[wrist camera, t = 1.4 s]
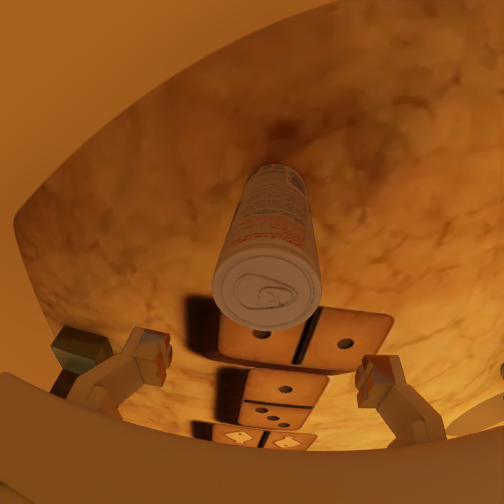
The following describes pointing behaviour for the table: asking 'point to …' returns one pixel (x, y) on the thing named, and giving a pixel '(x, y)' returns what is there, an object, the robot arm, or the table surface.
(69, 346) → the stand
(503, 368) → the water bottle
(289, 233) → the beverage can
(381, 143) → the table surface
